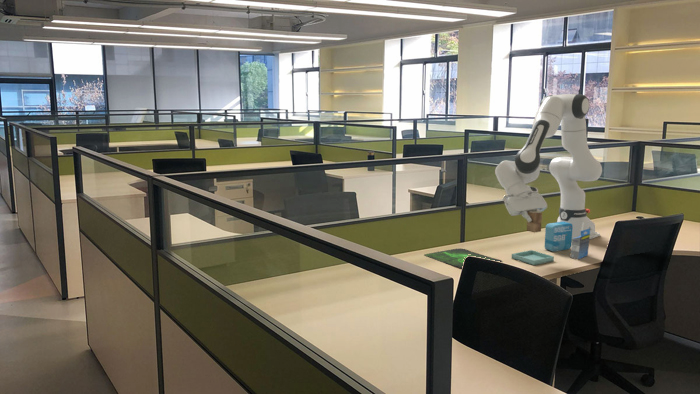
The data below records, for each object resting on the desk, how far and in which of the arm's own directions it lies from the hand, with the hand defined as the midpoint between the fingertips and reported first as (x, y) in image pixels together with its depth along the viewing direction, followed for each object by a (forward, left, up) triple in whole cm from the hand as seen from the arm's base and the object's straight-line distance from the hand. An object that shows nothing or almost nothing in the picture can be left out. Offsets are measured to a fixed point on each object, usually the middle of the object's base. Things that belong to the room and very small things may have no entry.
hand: (535, 220), depth 236 cm
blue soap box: (-23, -7, -17) cm, 29 cm away
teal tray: (0, -1, -17) cm, 17 cm away
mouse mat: (+24, -18, -18) cm, 35 cm away
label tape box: (-21, +6, -17) cm, 28 cm away
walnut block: (0, -1, -5) cm, 5 cm away
